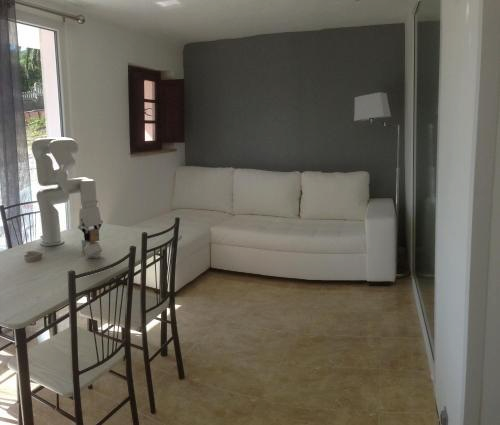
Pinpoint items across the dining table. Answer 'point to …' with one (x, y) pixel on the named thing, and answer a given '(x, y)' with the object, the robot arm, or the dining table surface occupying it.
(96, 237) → the walnut block
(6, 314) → the dining table surface
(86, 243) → the grey block
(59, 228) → the robot arm
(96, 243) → the die
